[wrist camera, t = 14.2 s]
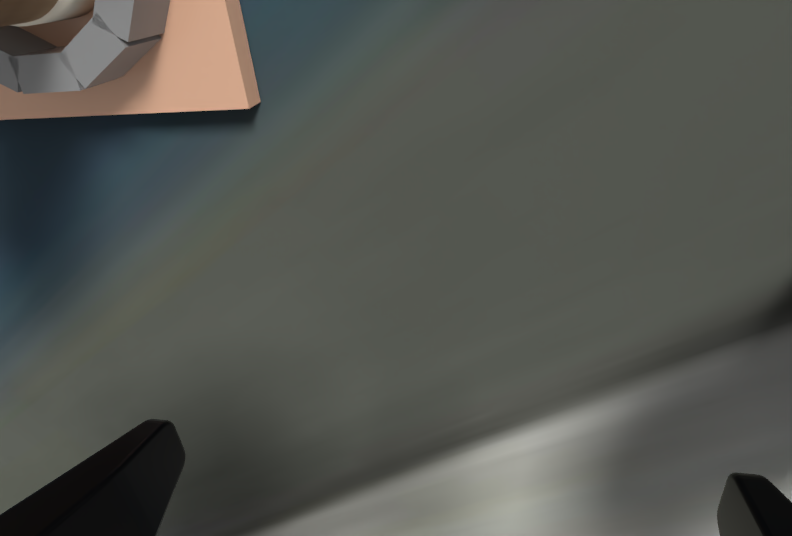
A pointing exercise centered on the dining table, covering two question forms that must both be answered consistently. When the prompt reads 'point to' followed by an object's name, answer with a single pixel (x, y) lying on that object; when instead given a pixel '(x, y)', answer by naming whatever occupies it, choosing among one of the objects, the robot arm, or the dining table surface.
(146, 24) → the collar
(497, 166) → the dining table surface
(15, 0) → the brown cylinder
